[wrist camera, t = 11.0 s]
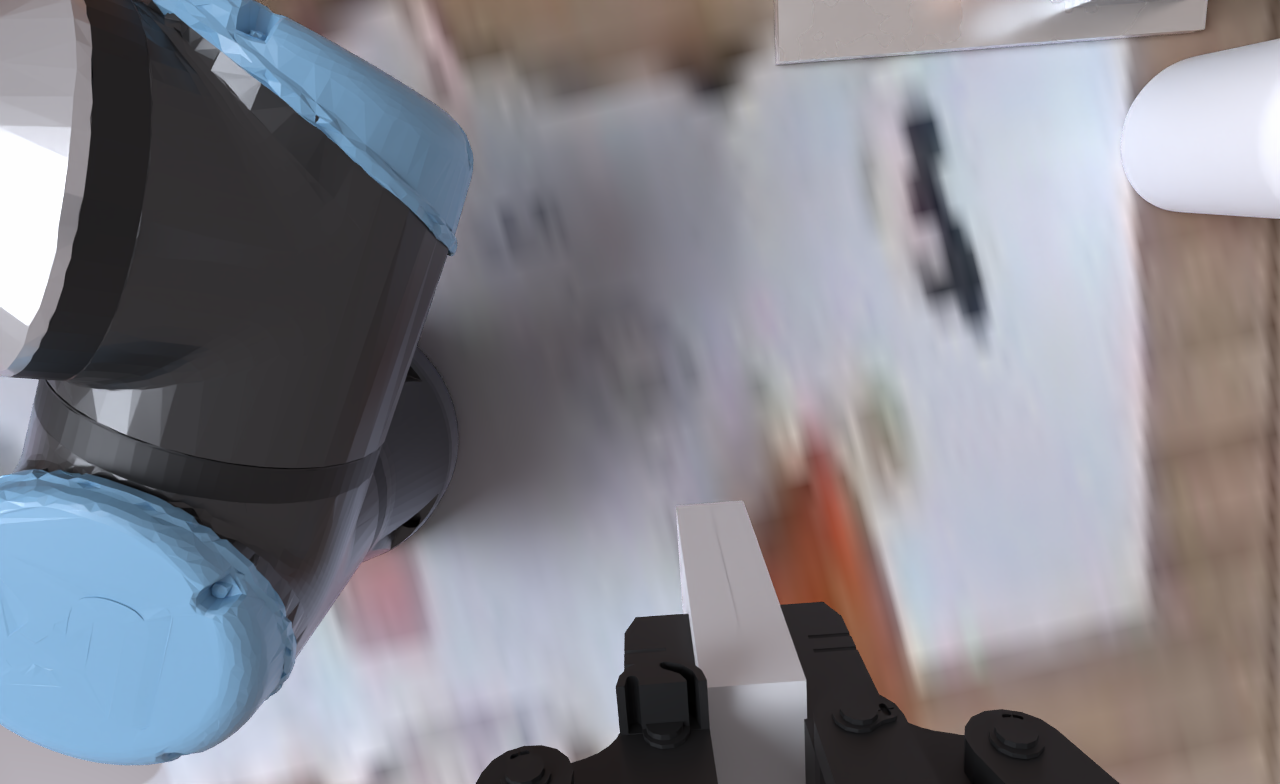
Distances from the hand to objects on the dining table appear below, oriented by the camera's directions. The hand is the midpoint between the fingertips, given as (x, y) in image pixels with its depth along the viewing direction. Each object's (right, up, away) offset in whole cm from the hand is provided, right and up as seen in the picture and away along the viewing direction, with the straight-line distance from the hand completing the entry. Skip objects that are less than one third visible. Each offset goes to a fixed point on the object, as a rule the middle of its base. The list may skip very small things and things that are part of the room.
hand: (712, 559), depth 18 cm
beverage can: (+28, +18, +26) cm, 43 cm away
